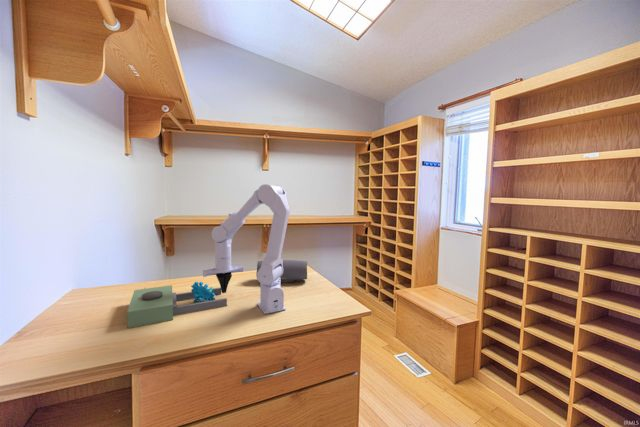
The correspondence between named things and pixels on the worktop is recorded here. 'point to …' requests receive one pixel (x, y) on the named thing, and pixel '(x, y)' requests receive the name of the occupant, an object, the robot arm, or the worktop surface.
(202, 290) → the gear
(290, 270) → the bluetooth speaker
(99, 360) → the worktop surface
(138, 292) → the green block with rails
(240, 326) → the worktop surface
